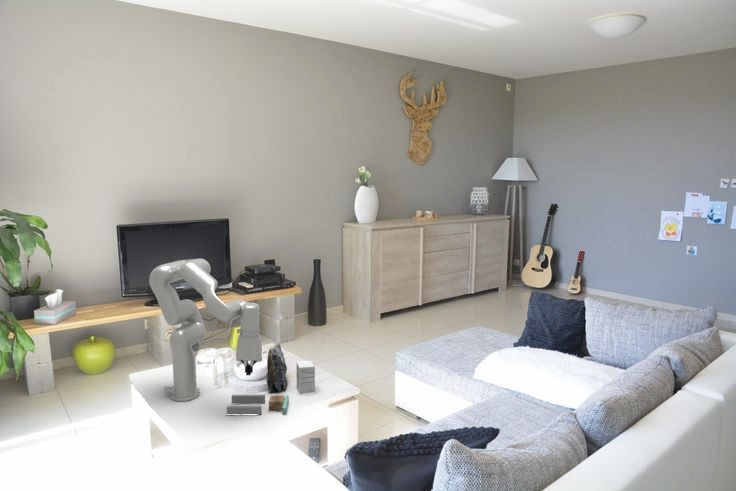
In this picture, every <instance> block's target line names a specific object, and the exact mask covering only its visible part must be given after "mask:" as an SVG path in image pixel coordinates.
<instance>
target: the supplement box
mask: <svg viewBox="0 0 736 491" xmlns="http://www.w3.org/2000/svg"><path fill="white" fill-rule="evenodd" d="M315 384H316V366H315V364H314V363H313V361H312V360H303V361H296V389H297V391H298V393H299V394H307V393H308V394H309V393H315V392H316V385H315Z"/></svg>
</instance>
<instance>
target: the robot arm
mask: <svg viewBox="0 0 736 491" xmlns="http://www.w3.org/2000/svg"><path fill="white" fill-rule="evenodd" d="M211 268H212V267H211V265H210V263H209V261H207V260H206V259H204V258H194V259H192V258H191V259H181V260H175V261H171V262H167V263H162V264H160V265H158V266H156V267H155V268H153V270H152V271H151V273H150V274H149V277H148V278H149V279H148V280H149V281H148V282H149V286H150V289H151V290H152V293H153V294H154V296H155V297H156V300H157V302H158V306H159V308H160V311H161V313H162V315H163V318H164V321H165V323H166V324H167V325H168V326H172V327H173V326H177V325H180V324H184V325H182V326H179V327H177V328H175V329H174V330H173V331H172V332H171V333H170V335H169V338H168V339H169V340H168V341H169V345H170V349H171V356H172V358H171V360H172V375H173V376H172V377H173V380H172V381H173V385H165V386H164V388H163V389H164V391H165V393H170V394H169V395H170V399H171V400H173V401H174V402H188V401H192V400H195V399H197V398H198V397H199V396H200V395H201V390H200V388H197V366H196V364H197V363H196V354H195V352H194V350H193V348H192V346H194V345H195V344H199V342H202V341H203V340H204V339H205V338H206V336H207V328H206V325H205V322H204V320H203V317H202V314H201V312H200V310H199V307H198V305H197V304H196V303H195V302H194V301H193V300H191V299H188V298H187V299H182V300H181V299H180V296H179V294H178V292H177V291H176V289H175V288H174V286H172V285H171V283H174V282H177V281H181V280H184V281H185V282H186V283H187V284H188V285H189V286H191V287H192V288H193V289H194V290H196V292H198V293H199V294H200V295H201V296H202V299H203V303H204V306H205V307H206V310H207V311H208V312H209V313H210V314H211V315H212V316H213V317H215V318H216V319H217V320H219V321H220V322H223V323H229V322H232V321H233V320H235V319H239V318H240V328H239V329H237V330H236V333H237V334H239V335H238V336H237V341H236V349H235V350H236V351H235V361H236V362H240V363H241V364H242V365H243V366H244V373H245V374H246V376H251V374H253V370H254V365H255V364H257V363H260V362H261V363H262V361H263V356H262V354H263V351H262V350H263V346H262V345H263V344H262V337H261V334H260V305H259V304H258V303H256V302H248V301H246V300H243V299H241V298H236V299H233V300H231V301H228V302H225V303H224V301H222V300H221V299H220V298H219V297H218V296H217V295H216V292H215V291H216V289H217V287H218V285H219V284H218V281H217V279H216V278H214V277H213V276H212V275H211V274H210V273H211V271H212V270H211ZM249 361H250V363H249Z"/></svg>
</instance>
